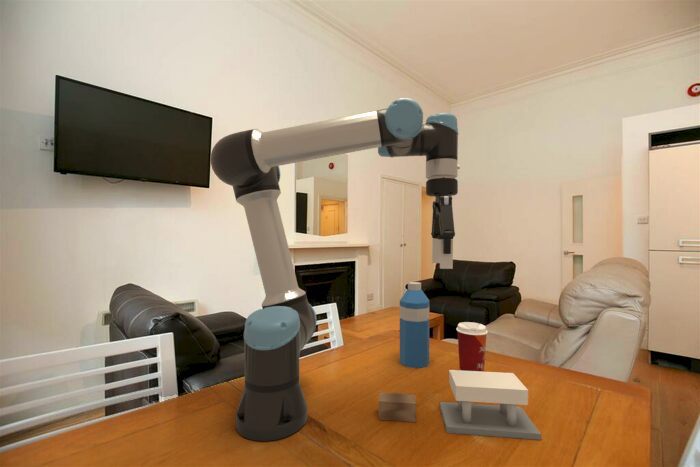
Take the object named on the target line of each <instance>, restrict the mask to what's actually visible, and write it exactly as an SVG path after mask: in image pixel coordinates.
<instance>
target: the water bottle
mask: <svg viewBox="0 0 700 467" xmlns="http://www.w3.org/2000/svg"><path fill="white" fill-rule="evenodd" d="M399 363H400V364H401V365H402V366H404V367H406V368H407V367H408V368H414V369H421V368H427V367H428V366H429V364H430V299H429V298H428V297H427V295H426V294H425V292H424V291H423V290H422V282H418V281H410V282H407V290H406V291H405V293H403V295H402V296H401V298H400V300H399Z"/></svg>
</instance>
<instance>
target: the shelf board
mask: <svg viewBox="0 0 700 467" xmlns="http://www.w3.org/2000/svg"><path fill="white" fill-rule="evenodd" d="M448 374H449V377H448V381H449V382H448V383H449V386H450V388H451V392H452V393H453V396H454V400H455V401H457V402H458V401H470V402H471V403H473V402H475V403H487V404H500V403H502V404H517V405H522V406H528V405H529V389H528V388H527V387H526V386H525V385H524V384H523V383H522V381H521V380H520V379H519V378H518V377H517V376H516V374H514V372H501V371H500V372H497V371H484V372H481V371H462V370H460V369H459V370H458V369H449V370H448Z"/></svg>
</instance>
